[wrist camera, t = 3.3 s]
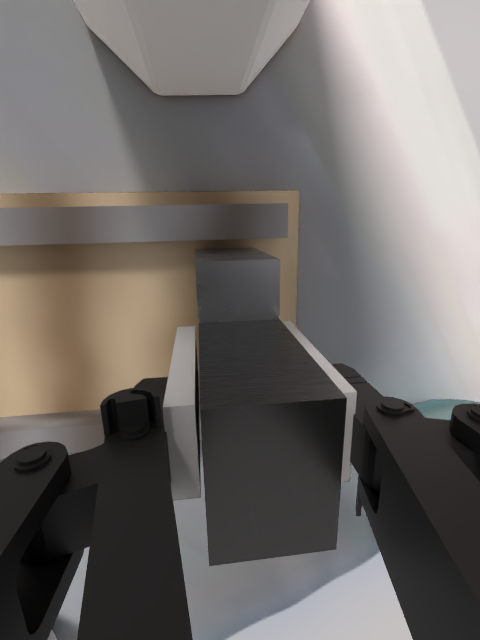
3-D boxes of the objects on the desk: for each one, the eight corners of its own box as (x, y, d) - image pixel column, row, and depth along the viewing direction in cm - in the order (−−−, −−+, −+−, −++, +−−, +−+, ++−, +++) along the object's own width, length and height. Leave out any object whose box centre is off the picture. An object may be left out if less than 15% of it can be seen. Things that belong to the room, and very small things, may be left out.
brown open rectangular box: (-137, 445, 21) (-373, 604, 12) (-229, 199, 17) (-674, 176, 8) (285, 410, 24) (336, 518, 15) (289, 193, 20) (361, 170, 11)
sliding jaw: (203, 396, 20) (213, 634, 8) (195, 249, 18) (193, 299, 6) (254, 392, 20) (330, 616, 9) (253, 247, 18) (354, 292, 6)
